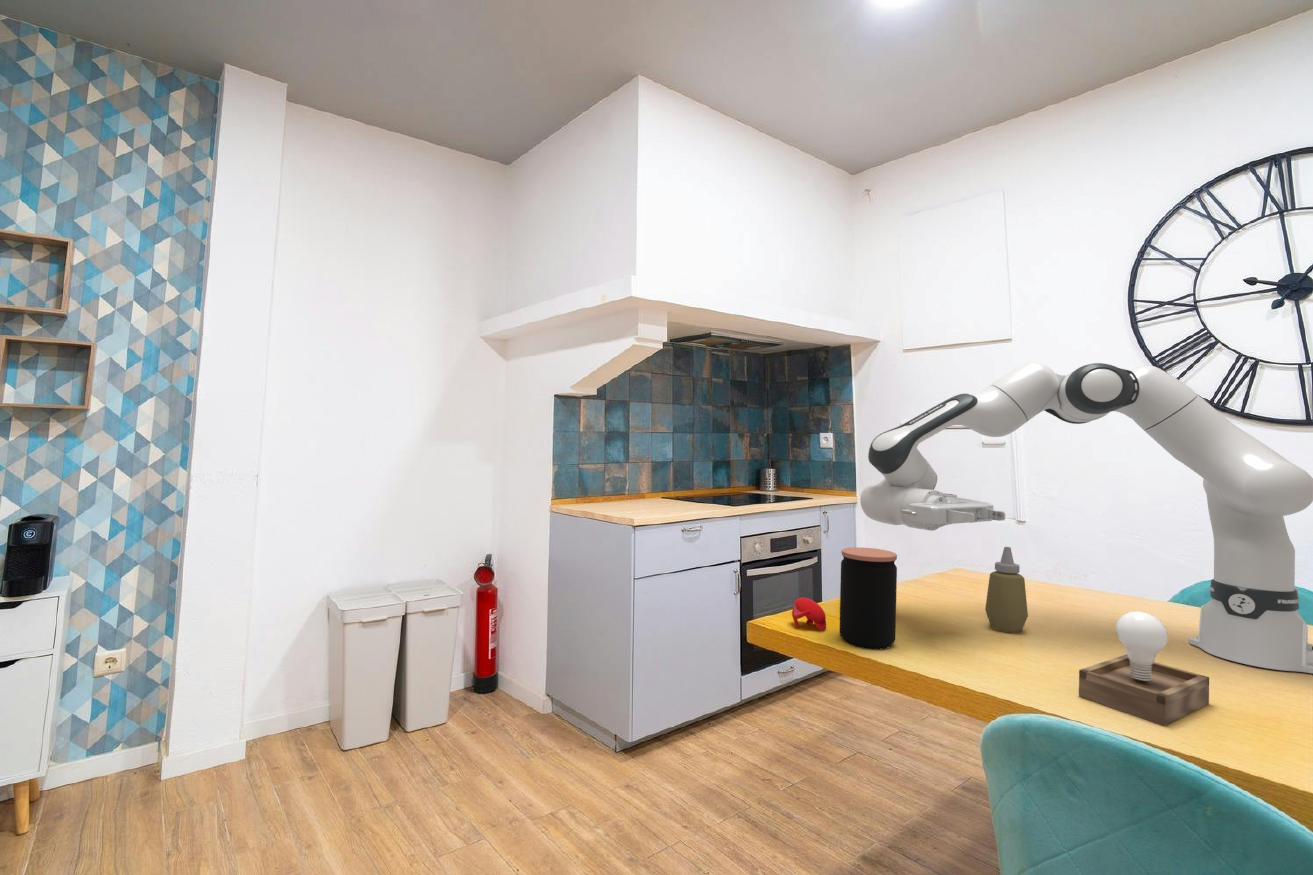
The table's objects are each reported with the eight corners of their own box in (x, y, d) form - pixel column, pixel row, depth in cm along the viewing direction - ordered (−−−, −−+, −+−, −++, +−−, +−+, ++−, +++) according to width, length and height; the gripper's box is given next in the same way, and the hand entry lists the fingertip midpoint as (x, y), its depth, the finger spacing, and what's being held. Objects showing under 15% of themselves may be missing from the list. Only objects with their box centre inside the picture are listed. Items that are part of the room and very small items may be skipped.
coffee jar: (903, 641, 118) (905, 552, 118) (882, 654, 110) (884, 559, 110) (852, 629, 125) (854, 545, 125) (829, 640, 117) (831, 551, 117)
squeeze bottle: (1034, 636, 123) (1035, 551, 123) (992, 633, 125) (994, 549, 125) (1018, 625, 131) (1020, 545, 131) (979, 622, 133) (981, 543, 133)
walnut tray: (1125, 678, 101) (1125, 654, 101) (1208, 703, 92) (1209, 677, 92) (1078, 696, 93) (1079, 669, 93) (1164, 725, 84) (1165, 696, 84)
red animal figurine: (782, 610, 126) (801, 602, 122) (794, 596, 131) (813, 588, 127) (804, 642, 125) (825, 634, 121) (816, 627, 129) (836, 619, 125)
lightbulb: (1171, 693, 88) (1172, 620, 88) (1117, 683, 91) (1119, 613, 91) (1162, 679, 93) (1163, 610, 93) (1112, 670, 97) (1113, 604, 97)
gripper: (895, 495, 122) (957, 502, 110) (955, 494, 132) (1018, 500, 120) (894, 526, 121) (956, 536, 109) (954, 521, 132) (1017, 530, 120)
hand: (989, 517), depth 115 cm, fingers open, 8 cm apart
